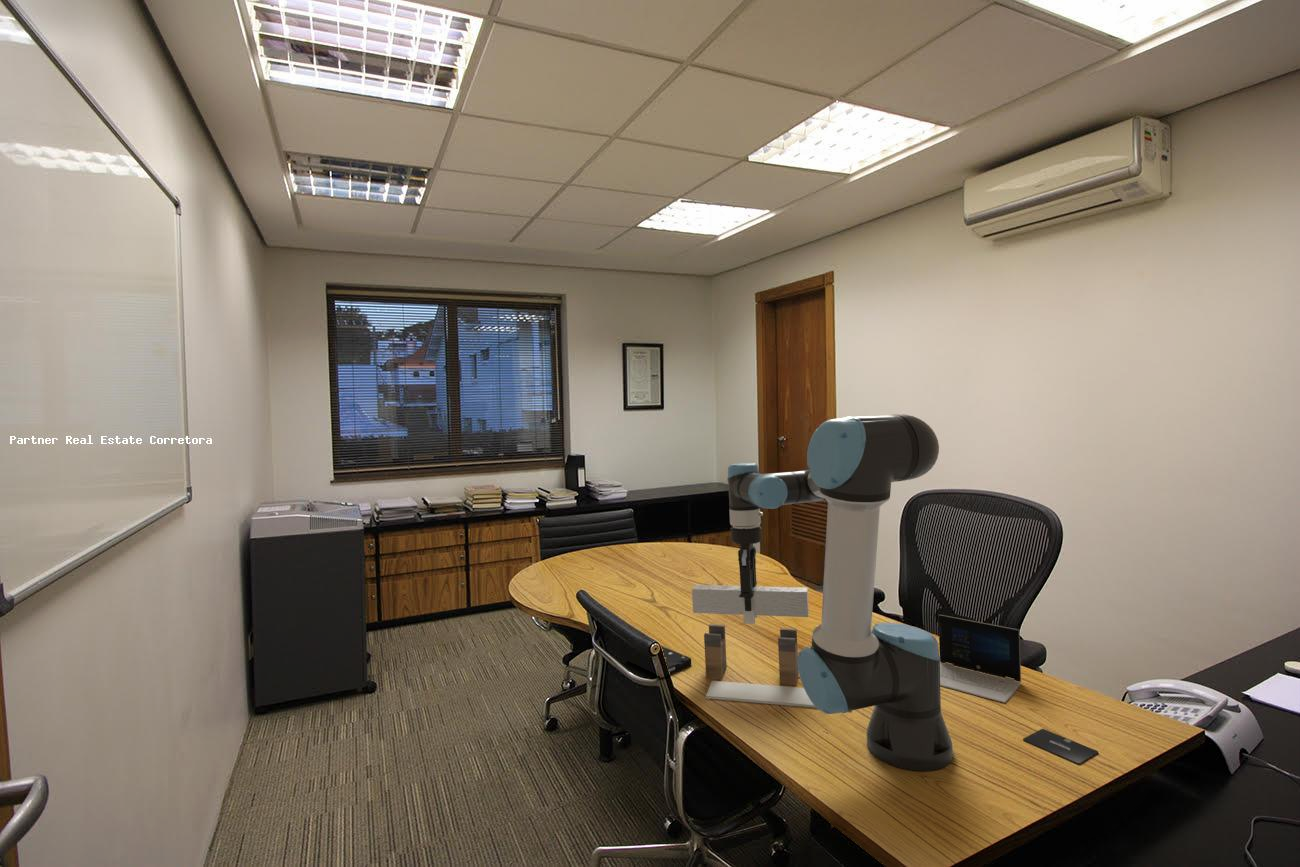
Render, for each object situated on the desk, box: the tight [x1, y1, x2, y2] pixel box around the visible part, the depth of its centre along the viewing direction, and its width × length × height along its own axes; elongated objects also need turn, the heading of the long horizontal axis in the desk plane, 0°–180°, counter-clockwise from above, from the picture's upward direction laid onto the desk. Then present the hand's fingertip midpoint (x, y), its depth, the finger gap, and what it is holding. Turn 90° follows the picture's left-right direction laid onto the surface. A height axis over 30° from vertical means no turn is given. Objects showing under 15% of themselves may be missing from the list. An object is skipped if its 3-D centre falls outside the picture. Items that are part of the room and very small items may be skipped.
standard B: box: [703, 624, 728, 680], centre depth 155 cm, size 7×4×11 cm, turn 164°
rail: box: [691, 584, 810, 618], centre depth 151 cm, size 4×28×6 cm, turn 74°
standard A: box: [777, 627, 799, 686], centre depth 150 cm, size 7×4×11 cm, turn 164°
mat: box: [705, 680, 817, 709], centre depth 141 cm, size 8×32×1 cm, turn 74°
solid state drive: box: [1022, 728, 1099, 766], centre depth 115 cm, size 7×10×1 cm
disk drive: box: [661, 645, 692, 676], centre depth 162 cm, size 10×3×15 cm
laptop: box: [937, 614, 1022, 704], centre depth 143 cm, size 18×12×13 cm
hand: (750, 619), depth 151 cm, fingers closed on rail, 4 cm apart
